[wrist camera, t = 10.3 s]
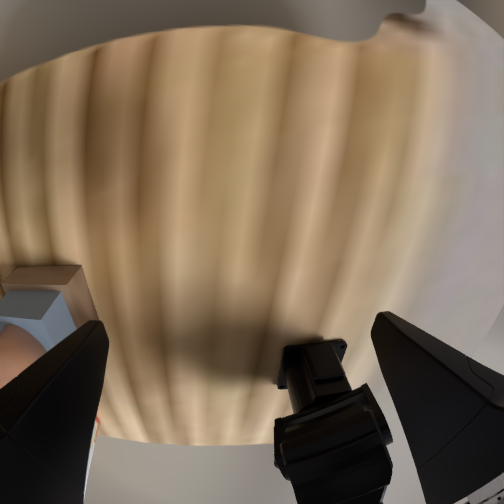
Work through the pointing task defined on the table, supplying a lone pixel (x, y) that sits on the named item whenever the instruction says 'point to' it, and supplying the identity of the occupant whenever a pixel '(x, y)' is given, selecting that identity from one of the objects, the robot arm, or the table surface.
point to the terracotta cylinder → (17, 352)
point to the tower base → (57, 287)
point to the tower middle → (38, 315)
